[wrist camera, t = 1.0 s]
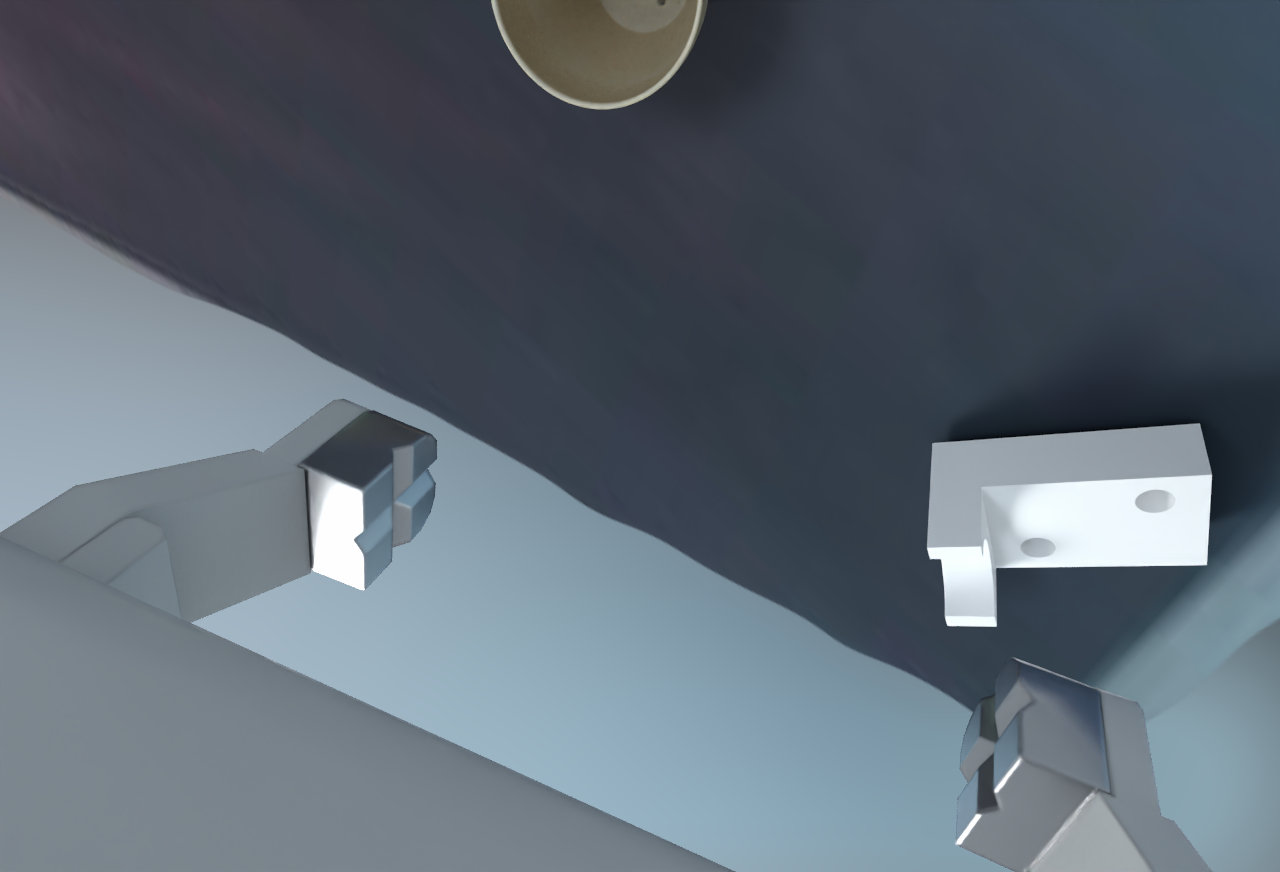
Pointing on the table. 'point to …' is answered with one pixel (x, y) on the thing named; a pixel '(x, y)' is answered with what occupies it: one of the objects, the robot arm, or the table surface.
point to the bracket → (1064, 507)
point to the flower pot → (600, 45)
